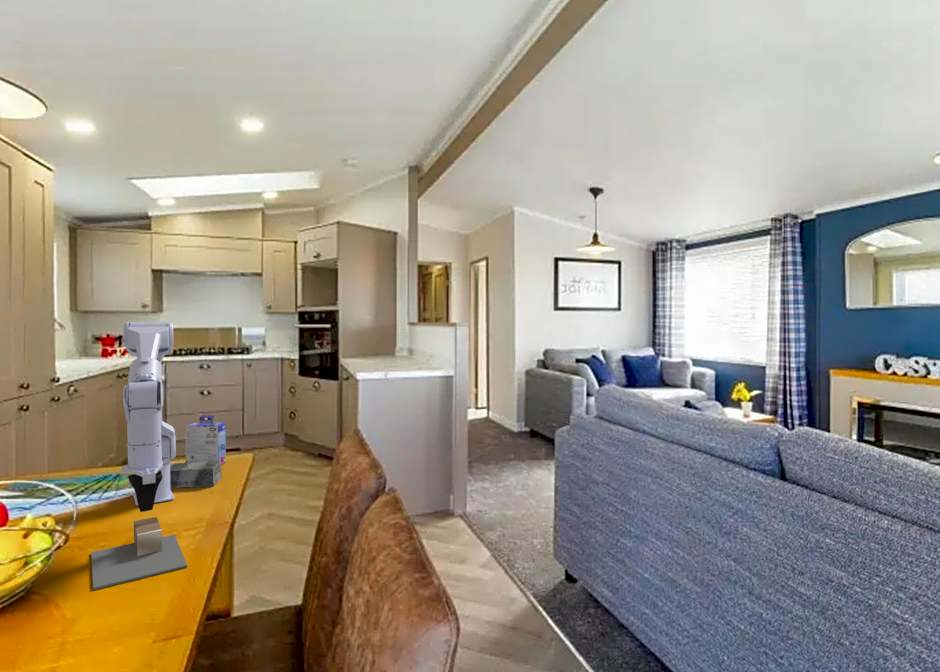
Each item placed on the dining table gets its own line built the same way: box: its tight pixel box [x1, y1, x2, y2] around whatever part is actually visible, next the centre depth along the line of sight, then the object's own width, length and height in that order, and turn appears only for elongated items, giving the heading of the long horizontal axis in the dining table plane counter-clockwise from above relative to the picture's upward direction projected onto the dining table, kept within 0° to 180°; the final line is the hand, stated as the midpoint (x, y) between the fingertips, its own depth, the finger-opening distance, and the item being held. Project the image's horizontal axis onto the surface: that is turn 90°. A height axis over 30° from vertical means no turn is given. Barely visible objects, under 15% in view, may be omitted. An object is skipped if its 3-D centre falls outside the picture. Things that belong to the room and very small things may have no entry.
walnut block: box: [133, 516, 163, 556], centre depth 105 cm, size 4×4×8 cm
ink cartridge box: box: [185, 414, 227, 465], centre depth 160 cm, size 10×6×14 cm, turn 91°
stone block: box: [170, 460, 223, 489], centre depth 144 cm, size 9×14×5 cm, turn 98°
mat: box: [90, 534, 188, 591], centre depth 100 cm, size 16×14×1 cm
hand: (146, 510), depth 106 cm, fingers closed
